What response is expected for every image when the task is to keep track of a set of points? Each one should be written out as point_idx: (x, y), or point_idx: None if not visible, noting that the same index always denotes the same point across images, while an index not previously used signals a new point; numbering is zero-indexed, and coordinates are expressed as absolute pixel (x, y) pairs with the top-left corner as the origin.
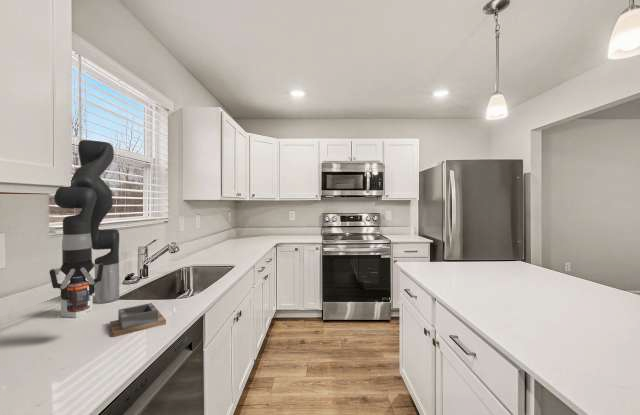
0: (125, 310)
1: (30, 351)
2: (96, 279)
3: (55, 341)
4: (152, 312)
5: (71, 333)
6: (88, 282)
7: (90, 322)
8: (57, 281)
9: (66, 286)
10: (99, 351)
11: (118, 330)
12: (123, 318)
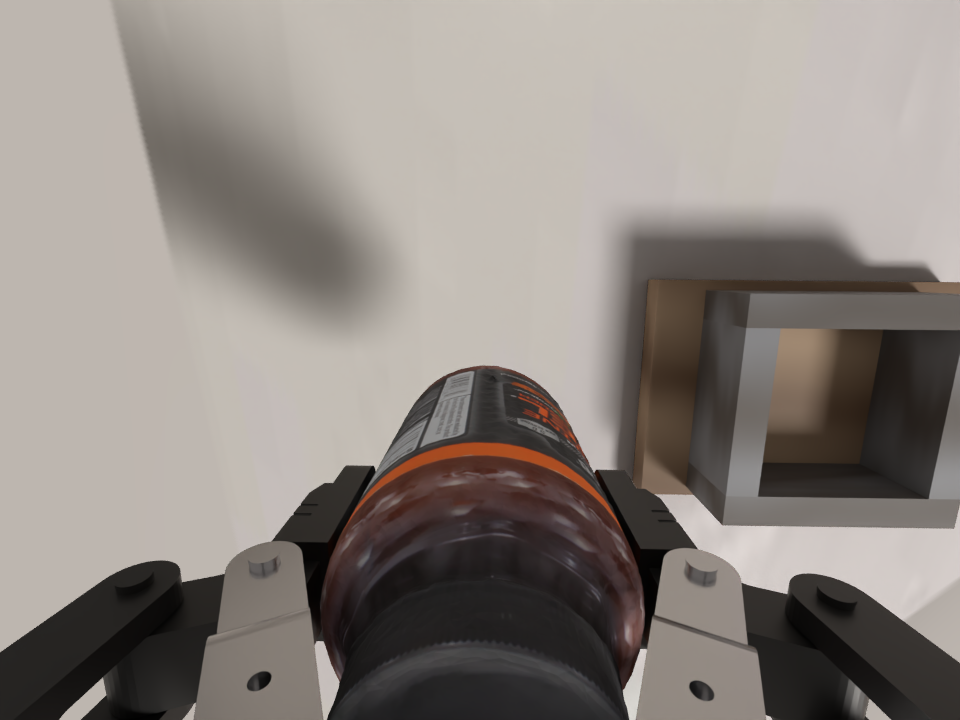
0: (787, 326)
1: (290, 393)
2: (782, 712)
3: (382, 332)
4: (910, 526)
5: (452, 256)
6: (636, 659)
7: (557, 106)
8: (116, 637)
9: (323, 629)
10: None
11: (667, 481)
12: (728, 522)
